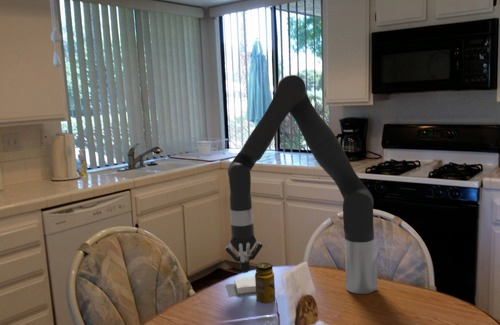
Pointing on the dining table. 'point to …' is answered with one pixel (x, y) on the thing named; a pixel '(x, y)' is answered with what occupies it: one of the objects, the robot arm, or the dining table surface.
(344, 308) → the dining table surface
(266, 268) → the condiment
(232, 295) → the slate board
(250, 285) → the tile
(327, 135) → the robot arm
